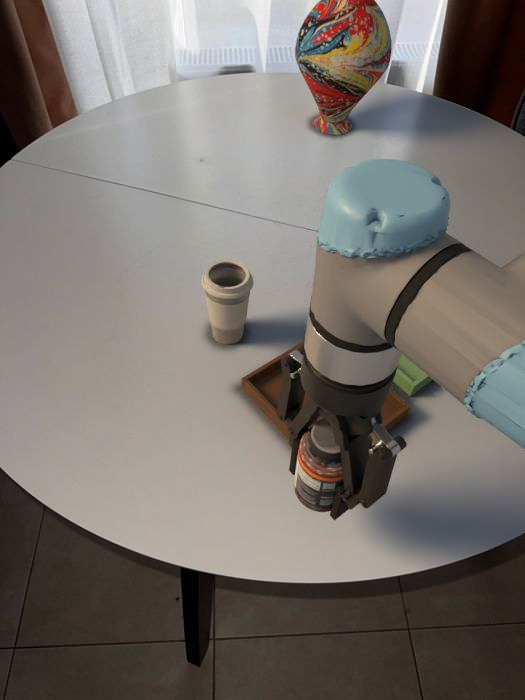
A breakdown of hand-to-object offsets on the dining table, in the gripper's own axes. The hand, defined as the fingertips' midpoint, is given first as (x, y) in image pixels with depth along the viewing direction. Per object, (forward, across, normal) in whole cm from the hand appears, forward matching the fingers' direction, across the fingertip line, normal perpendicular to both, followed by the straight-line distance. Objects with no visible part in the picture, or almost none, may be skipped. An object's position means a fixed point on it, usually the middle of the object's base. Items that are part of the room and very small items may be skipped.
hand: (320, 487), depth 63 cm
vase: (+7, +64, -63) cm, 90 cm away
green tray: (+7, +14, -30) cm, 34 cm away
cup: (+7, +30, -9) cm, 32 cm away
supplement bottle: (0, 0, 0) cm, 0 cm away
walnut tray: (+7, +12, -12) cm, 18 cm away
